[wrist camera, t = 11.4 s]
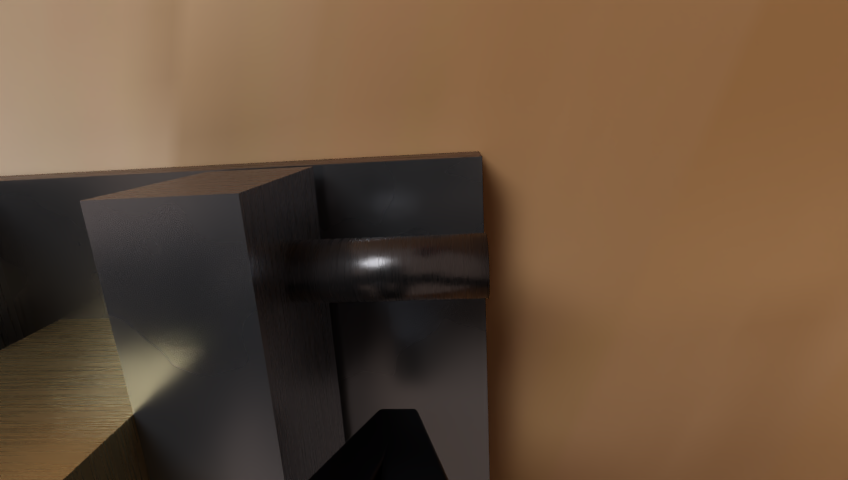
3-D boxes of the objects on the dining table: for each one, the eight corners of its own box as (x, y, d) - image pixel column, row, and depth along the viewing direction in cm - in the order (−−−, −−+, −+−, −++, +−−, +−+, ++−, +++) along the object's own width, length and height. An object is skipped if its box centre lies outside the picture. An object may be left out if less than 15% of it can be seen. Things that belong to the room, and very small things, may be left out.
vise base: (478, 151, 10) (500, 181, 5) (488, 536, 12) (508, 778, 8) (-53, 178, 10) (-425, 225, 6) (61, 531, 13) (-142, 746, 9)
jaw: (479, 157, 8) (493, 181, 5) (490, 593, 11) (503, 770, 8) (206, 172, 8) (80, 200, 6) (280, 589, 11) (219, 756, 8)
